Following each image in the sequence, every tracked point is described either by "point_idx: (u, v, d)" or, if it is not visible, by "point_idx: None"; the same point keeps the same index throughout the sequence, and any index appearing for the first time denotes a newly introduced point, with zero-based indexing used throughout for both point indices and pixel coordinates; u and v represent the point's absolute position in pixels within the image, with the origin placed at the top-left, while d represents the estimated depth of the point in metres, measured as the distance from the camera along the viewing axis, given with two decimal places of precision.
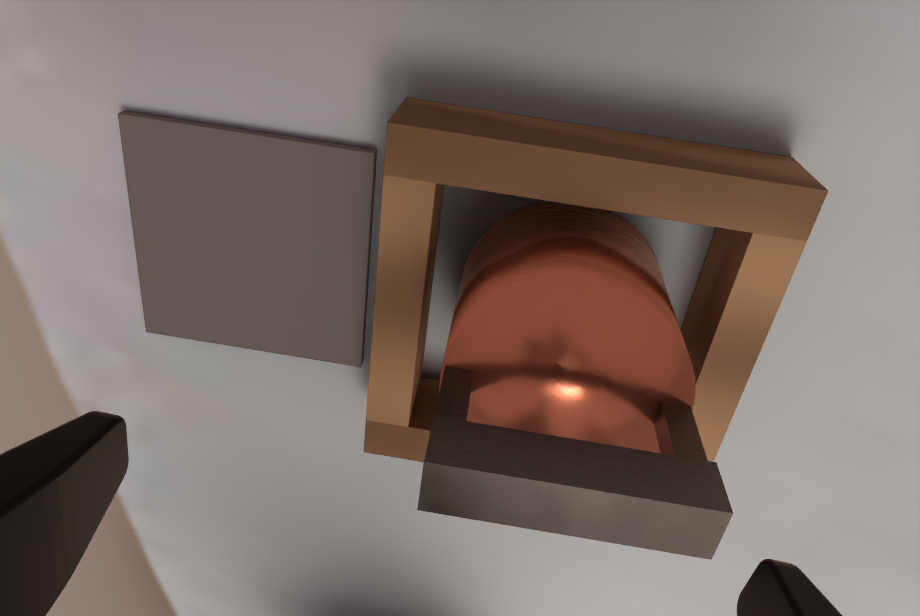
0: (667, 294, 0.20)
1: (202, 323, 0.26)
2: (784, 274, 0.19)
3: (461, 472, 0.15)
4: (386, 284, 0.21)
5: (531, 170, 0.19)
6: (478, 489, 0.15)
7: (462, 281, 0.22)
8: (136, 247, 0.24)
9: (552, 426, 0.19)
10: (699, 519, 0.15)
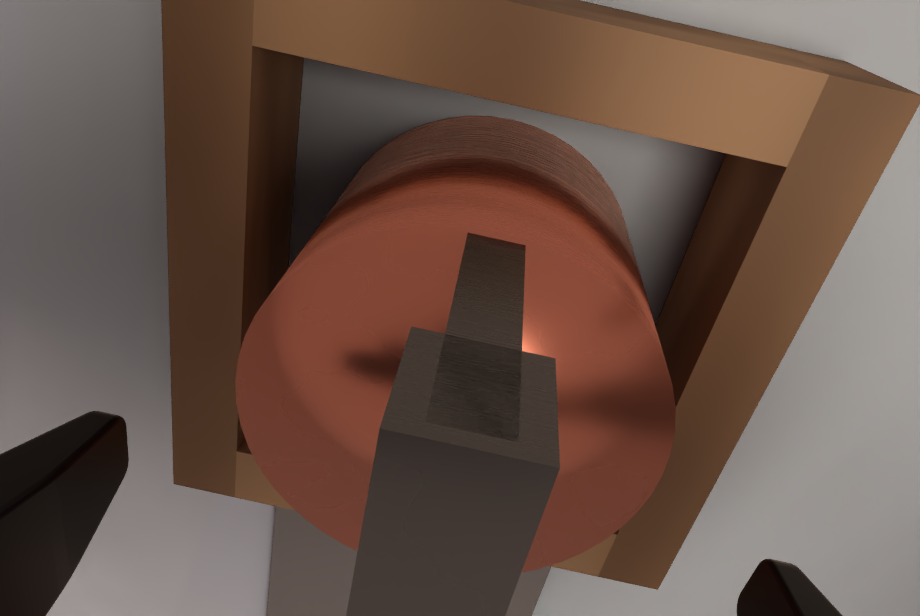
0: (383, 173, 0.12)
1: None
2: None
3: None
4: None
5: (203, 353, 0.14)
6: None
7: None
8: None
9: None
10: (408, 492, 0.06)
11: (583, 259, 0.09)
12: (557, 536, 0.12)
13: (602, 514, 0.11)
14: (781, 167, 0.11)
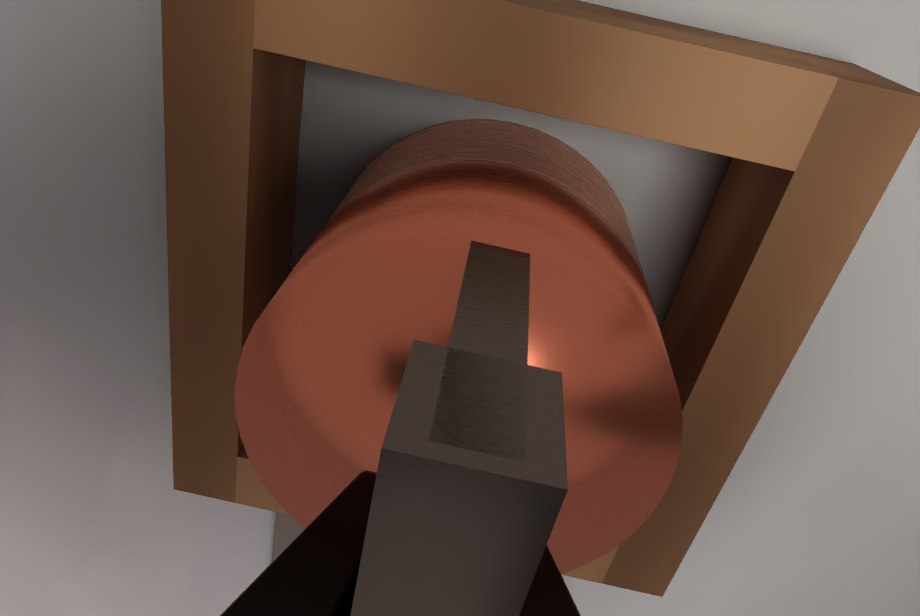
0: (384, 178, 0.12)
1: None
2: None
3: None
4: None
5: (203, 357, 0.14)
6: None
7: None
8: None
9: None
10: (410, 512, 0.06)
11: (588, 267, 0.09)
12: (560, 547, 0.12)
13: (607, 525, 0.11)
14: (789, 171, 0.11)
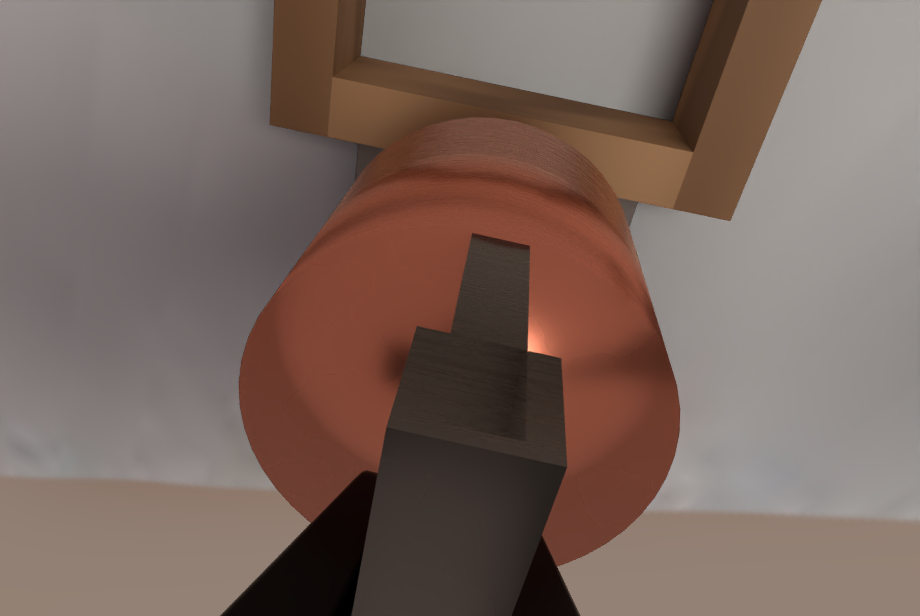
0: (386, 174, 0.12)
1: None
2: None
3: None
4: None
5: None
6: None
7: None
8: None
9: None
10: (414, 490, 0.06)
11: (587, 259, 0.09)
12: (560, 538, 0.12)
13: (606, 516, 0.11)
14: None
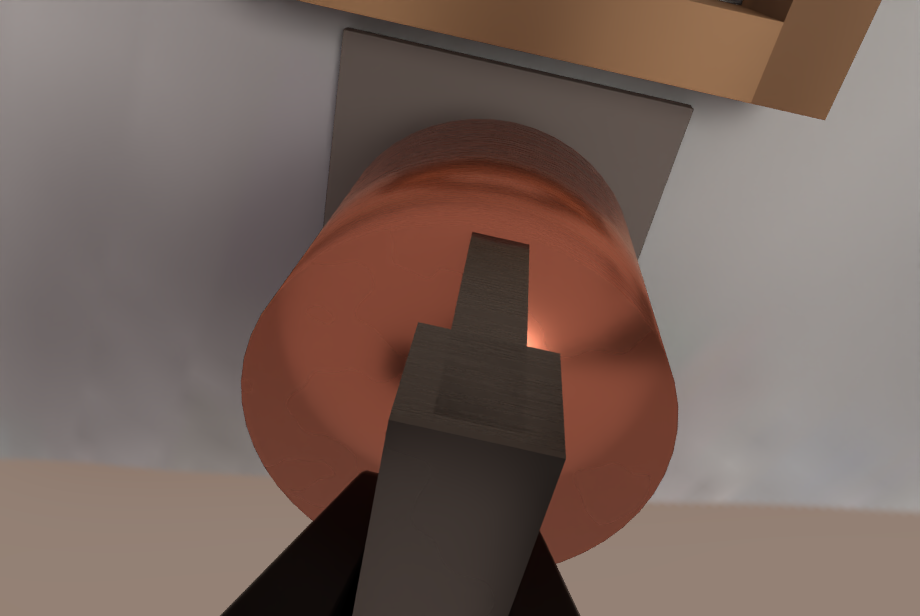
0: (387, 175, 0.12)
1: None
2: None
3: None
4: (478, 23, 0.13)
5: None
6: None
7: None
8: None
9: None
10: (416, 482, 0.06)
11: (586, 258, 0.10)
12: (559, 535, 0.12)
13: (605, 513, 0.11)
14: None
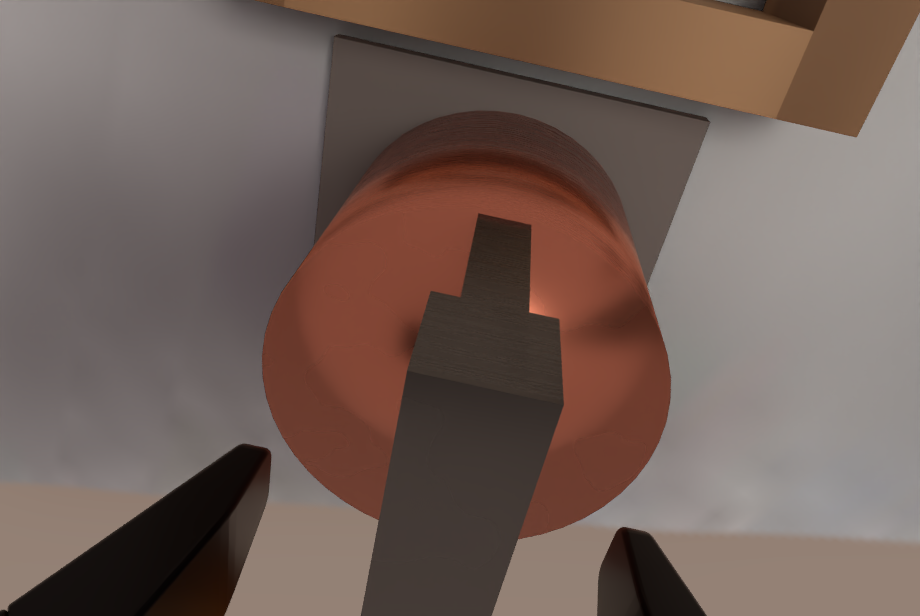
0: (397, 163, 0.13)
1: None
2: None
3: None
4: (478, 31, 0.12)
5: None
6: None
7: None
8: None
9: None
10: (430, 429, 0.07)
11: (584, 238, 0.10)
12: (561, 501, 0.13)
13: (603, 479, 0.12)
14: None
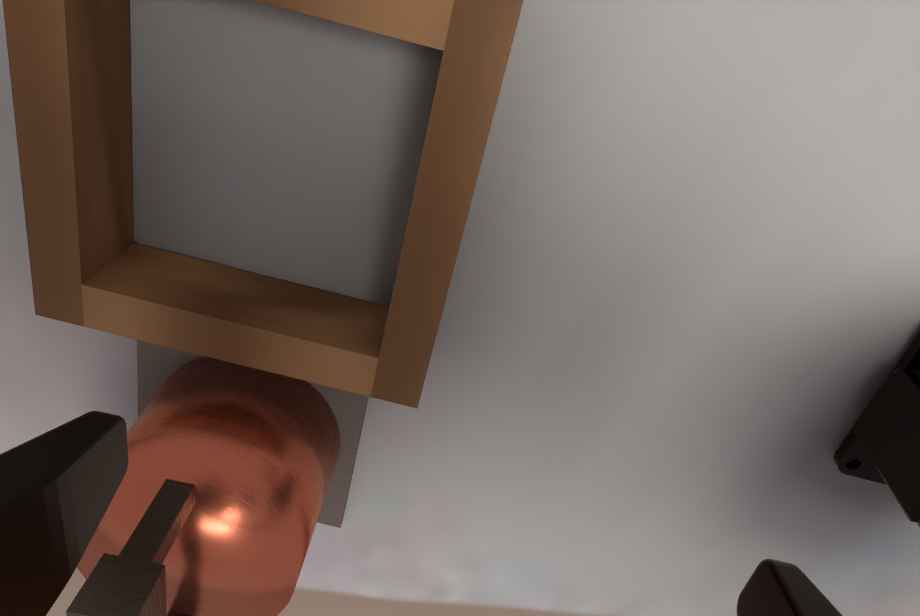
0: (156, 411, 0.22)
1: None
2: None
3: None
4: (196, 345, 0.21)
5: (48, 197, 0.19)
6: None
7: None
8: None
9: (215, 570, 0.21)
10: None
11: (228, 486, 0.19)
12: (252, 613, 0.21)
13: (271, 602, 0.21)
14: None
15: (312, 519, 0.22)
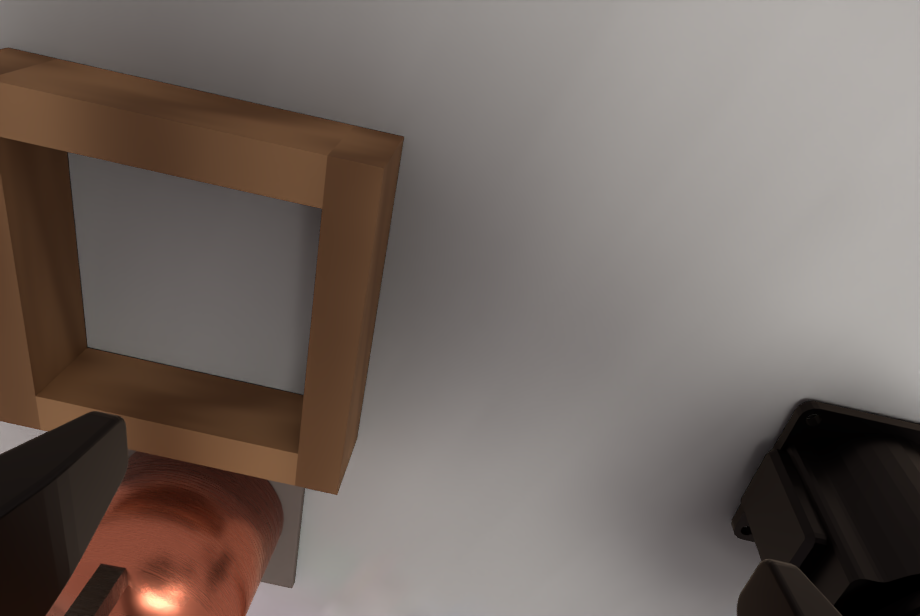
0: None
1: (277, 551, 0.29)
2: (28, 96, 0.18)
3: None
4: (138, 444, 0.23)
5: (0, 326, 0.21)
6: None
7: None
8: None
9: None
10: None
11: (156, 568, 0.22)
12: None
13: None
14: None
15: (245, 591, 0.24)
